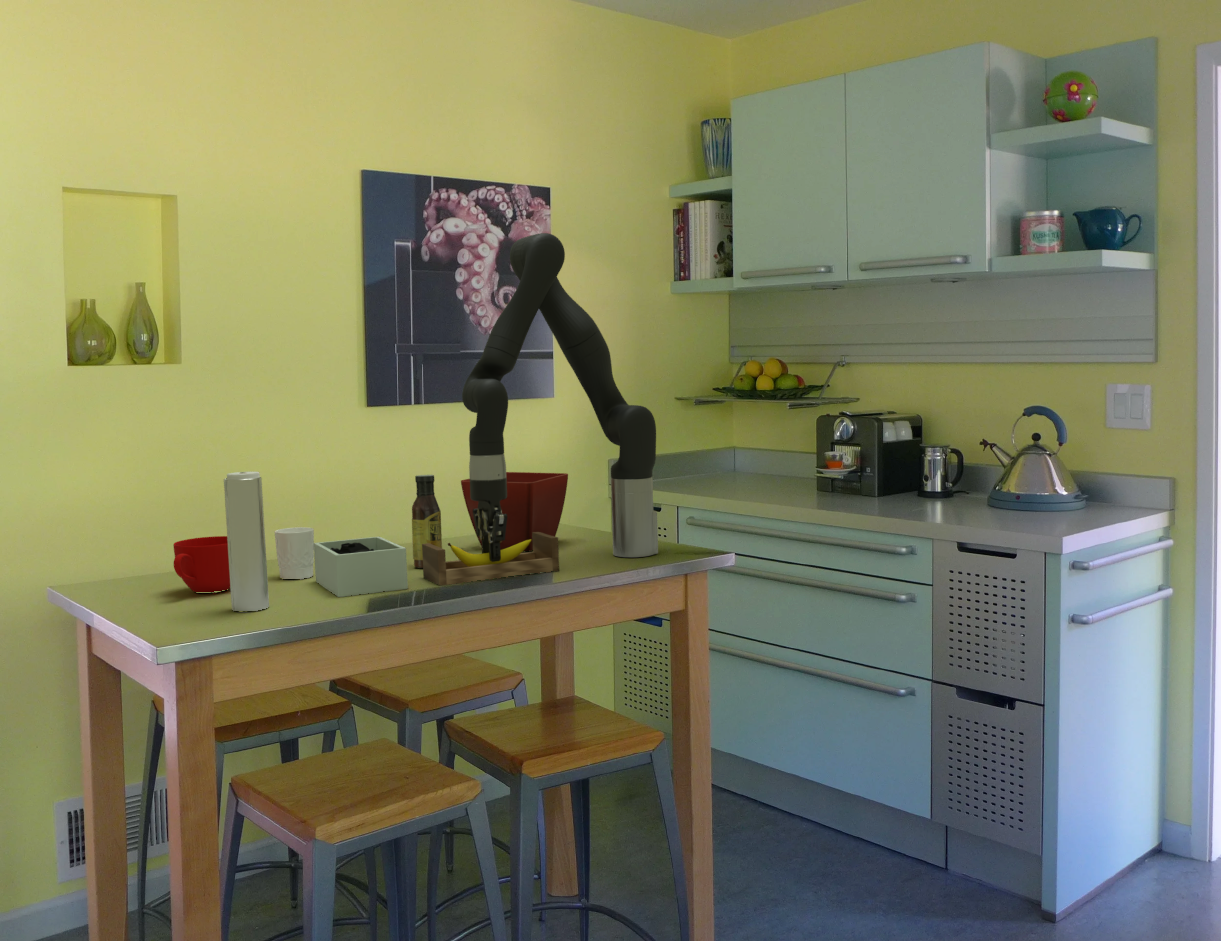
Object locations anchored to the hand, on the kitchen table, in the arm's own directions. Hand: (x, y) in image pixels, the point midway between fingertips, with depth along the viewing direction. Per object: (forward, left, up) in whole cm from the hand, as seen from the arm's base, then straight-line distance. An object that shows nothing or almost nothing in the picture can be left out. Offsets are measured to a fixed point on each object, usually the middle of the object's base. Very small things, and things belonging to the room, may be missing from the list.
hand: (491, 559), depth 232 cm
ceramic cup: (+54, -16, -3) cm, 57 cm away
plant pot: (-18, -29, -3) cm, 34 cm away
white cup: (+35, -22, -3) cm, 42 cm away
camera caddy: (+26, -5, -3) cm, 27 cm away
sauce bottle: (+8, -17, -3) cm, 19 cm away
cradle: (0, 0, -3) cm, 3 cm away
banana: (0, 0, -2) cm, 2 cm away
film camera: (+25, -4, -3) cm, 26 cm away
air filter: (+49, +5, -3) cm, 49 cm away
